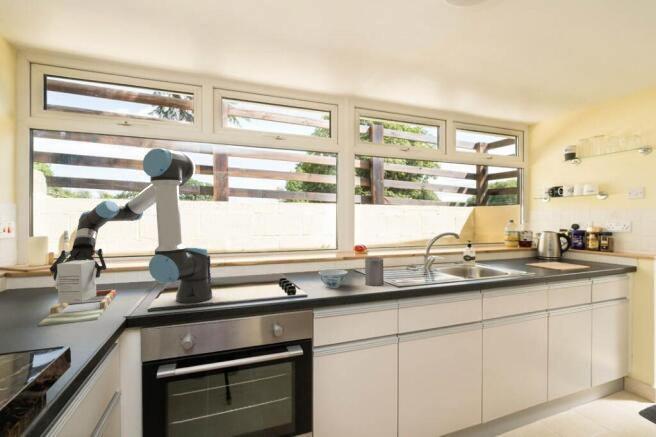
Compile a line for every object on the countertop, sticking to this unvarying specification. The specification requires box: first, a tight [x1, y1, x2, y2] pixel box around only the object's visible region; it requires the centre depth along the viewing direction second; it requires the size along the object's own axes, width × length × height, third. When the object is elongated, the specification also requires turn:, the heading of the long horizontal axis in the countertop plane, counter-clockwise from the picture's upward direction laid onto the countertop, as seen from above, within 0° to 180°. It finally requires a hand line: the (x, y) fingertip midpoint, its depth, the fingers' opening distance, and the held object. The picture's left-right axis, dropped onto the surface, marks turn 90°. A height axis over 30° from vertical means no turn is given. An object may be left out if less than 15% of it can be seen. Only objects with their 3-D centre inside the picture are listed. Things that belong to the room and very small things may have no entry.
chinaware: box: [318, 268, 349, 289], centre depth 169 cm, size 15×15×8 cm
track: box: [38, 288, 117, 327], centre depth 134 cm, size 40×17×3 cm, turn 25°
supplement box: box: [57, 259, 97, 303], centre depth 128 cm, size 9×9×15 cm
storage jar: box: [208, 254, 212, 285], centre depth 178 cm, size 10×10×15 cm
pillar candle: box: [364, 256, 385, 287], centre depth 174 cm, size 10×10×15 cm
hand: (75, 285), depth 126 cm, fingers closed on supplement box, 11 cm apart
